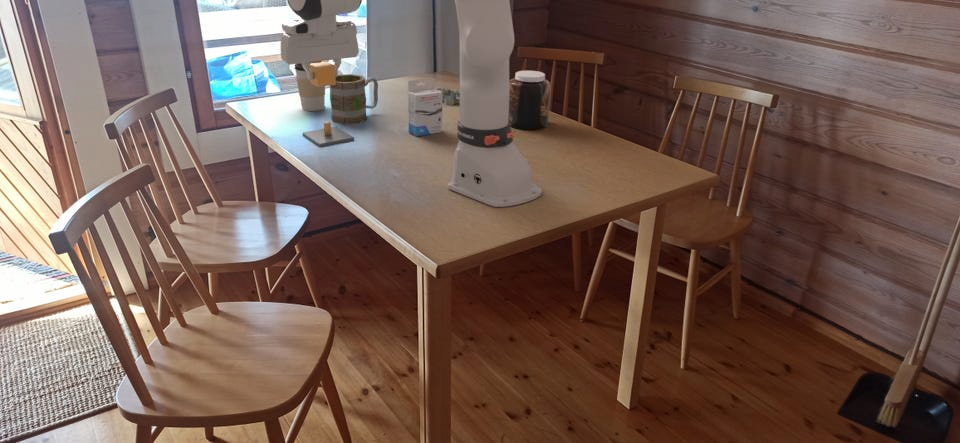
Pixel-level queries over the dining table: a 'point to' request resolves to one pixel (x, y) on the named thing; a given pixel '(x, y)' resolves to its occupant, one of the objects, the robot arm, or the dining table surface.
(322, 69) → the orange cubic block
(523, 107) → the jar
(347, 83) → the mug
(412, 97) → the ink box
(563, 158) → the dining table surface
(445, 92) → the egg carton
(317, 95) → the coffee cup
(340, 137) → the plate
